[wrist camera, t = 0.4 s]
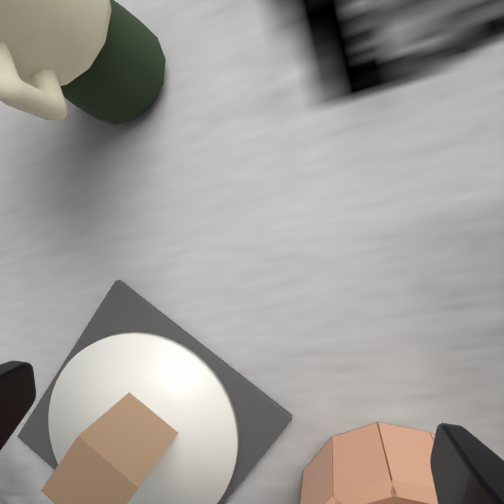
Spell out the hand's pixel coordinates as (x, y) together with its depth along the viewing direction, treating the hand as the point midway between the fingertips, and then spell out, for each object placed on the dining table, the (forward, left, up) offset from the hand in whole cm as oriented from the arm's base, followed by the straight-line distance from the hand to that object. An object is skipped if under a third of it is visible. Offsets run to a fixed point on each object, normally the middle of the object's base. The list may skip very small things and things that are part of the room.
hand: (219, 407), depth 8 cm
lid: (-13, +2, -14) cm, 20 cm away
